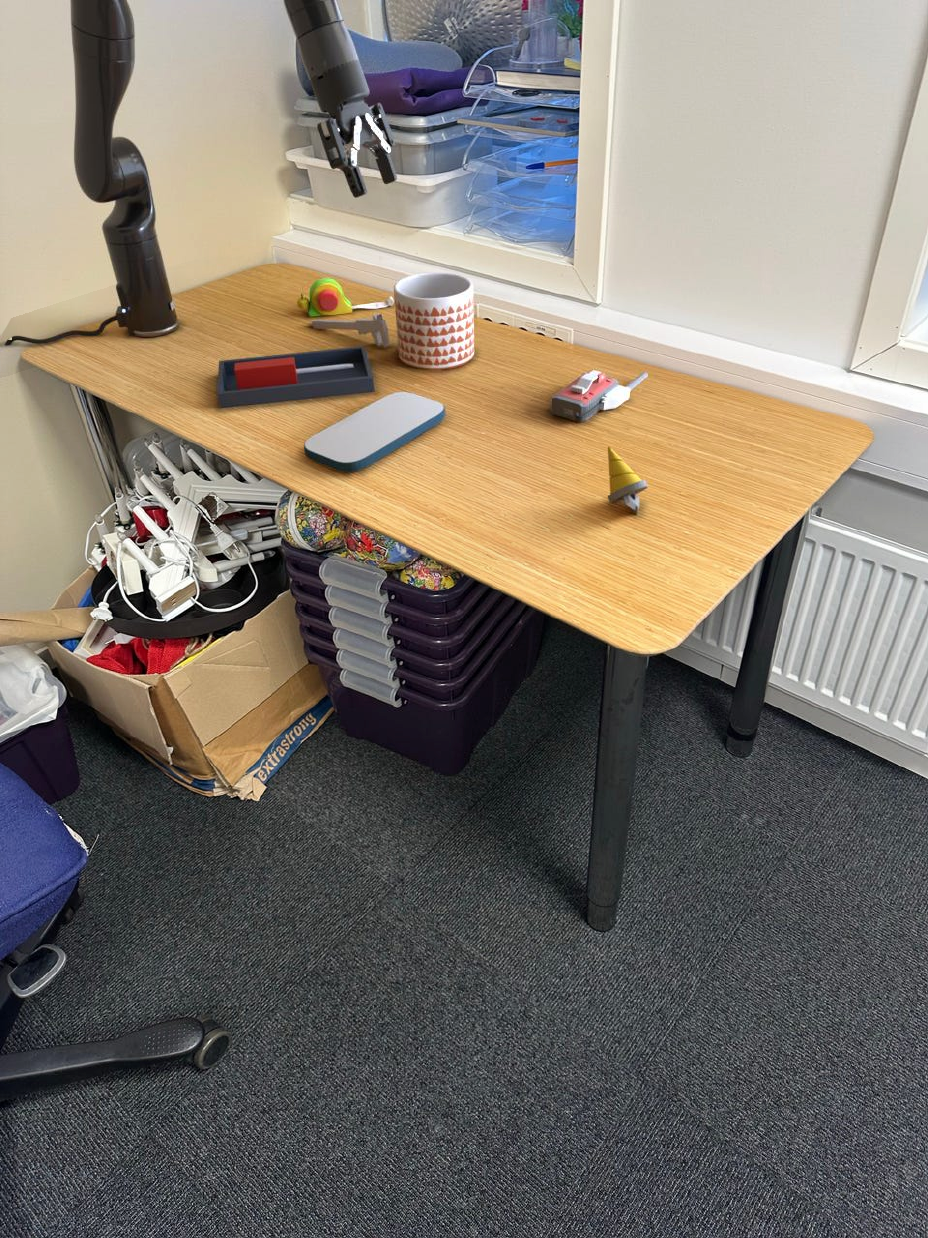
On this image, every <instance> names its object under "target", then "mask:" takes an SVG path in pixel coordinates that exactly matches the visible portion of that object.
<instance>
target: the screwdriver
mask: <svg viewBox="0 0 928 1238" xmlns="http://www.w3.org/2000/svg"><path fill="white" fill-rule="evenodd" d="M349 368H353V364H341V365H331V366H321V367H312V368H302V369H296V367H295V361H294V357H290V358H280V359H270V360H260V361H251V362H241V363H235V364H234V371H235V376H236V381H237V386H238V390H243V389H253V388H262V387H271V386H281V385H290V384H298V380H297V374H301V373H311V372H320V371H330V370H339V369H349Z"/></svg>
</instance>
